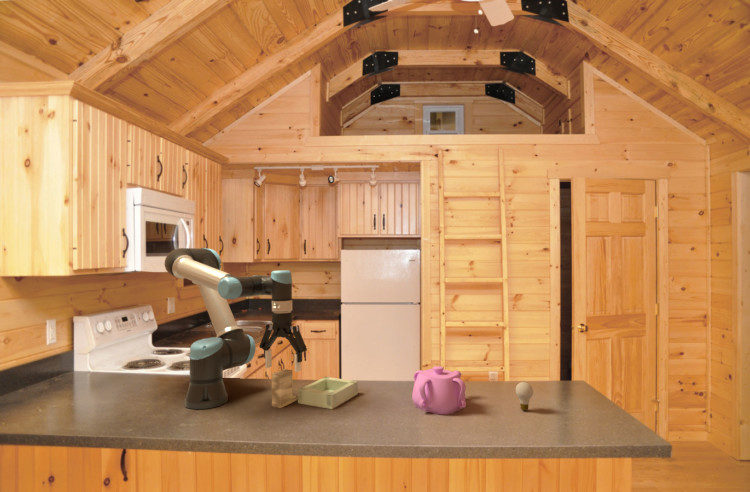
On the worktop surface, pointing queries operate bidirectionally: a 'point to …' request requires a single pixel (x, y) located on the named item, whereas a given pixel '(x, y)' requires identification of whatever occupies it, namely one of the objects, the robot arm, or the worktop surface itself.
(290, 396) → the wooden stepped block
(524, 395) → the light bulb
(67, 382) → the worktop surface
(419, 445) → the worktop surface
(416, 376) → the pink multi-handled pot
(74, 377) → the worktop surface
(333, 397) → the well block
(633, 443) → the worktop surface
